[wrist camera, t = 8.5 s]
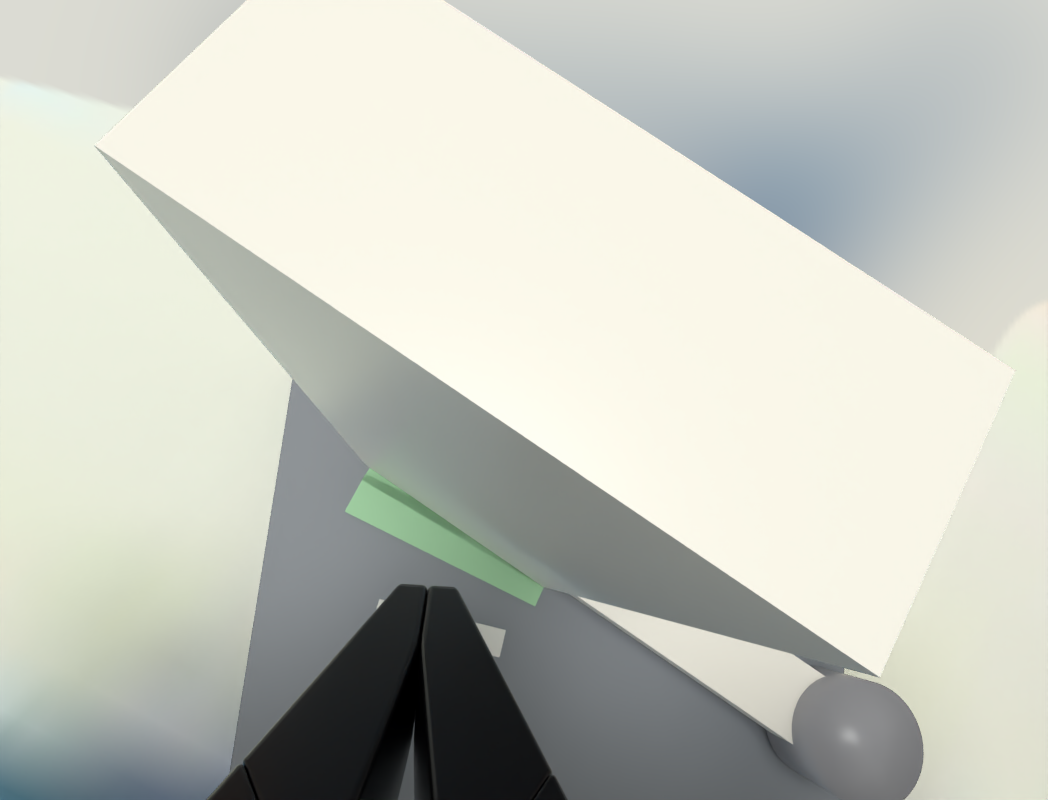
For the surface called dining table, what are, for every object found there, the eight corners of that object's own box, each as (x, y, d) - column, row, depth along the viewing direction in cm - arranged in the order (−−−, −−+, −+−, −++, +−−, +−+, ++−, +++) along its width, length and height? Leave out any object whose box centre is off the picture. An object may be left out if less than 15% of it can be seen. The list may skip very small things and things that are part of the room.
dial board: (834, 941, 15) (864, 971, 14) (216, 935, 14) (196, 967, 13) (808, 405, 18) (831, 395, 17) (305, 358, 17) (296, 345, 16)
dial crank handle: (836, 800, 15) (2427, 1777, 3) (361, 473, 15) (66, 169, 3) (878, 703, 15) (2320, 1178, 4) (421, 393, 16) (345, -96, 4)
